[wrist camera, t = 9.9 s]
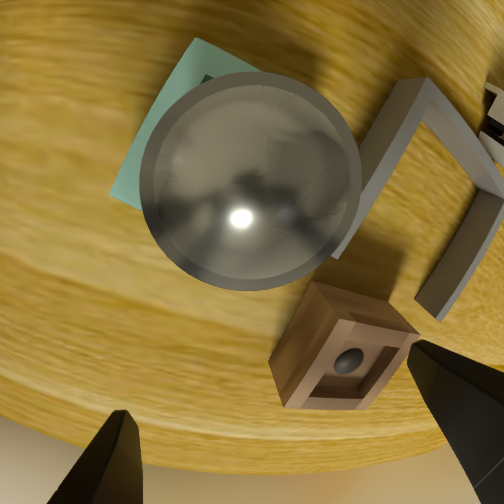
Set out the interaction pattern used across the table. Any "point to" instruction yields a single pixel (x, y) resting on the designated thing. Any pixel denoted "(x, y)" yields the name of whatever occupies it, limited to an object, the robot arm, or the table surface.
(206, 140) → the metal cylinder peg
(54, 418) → the table surface
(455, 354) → the robot arm
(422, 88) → the grey u-shaped bracket
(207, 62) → the teal block
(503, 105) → the grey slotted housing
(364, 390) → the walnut block
